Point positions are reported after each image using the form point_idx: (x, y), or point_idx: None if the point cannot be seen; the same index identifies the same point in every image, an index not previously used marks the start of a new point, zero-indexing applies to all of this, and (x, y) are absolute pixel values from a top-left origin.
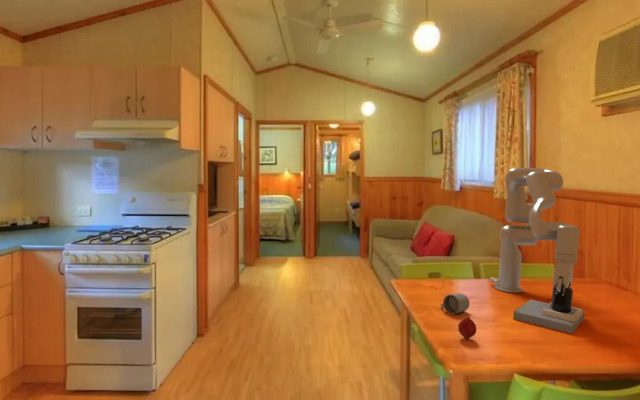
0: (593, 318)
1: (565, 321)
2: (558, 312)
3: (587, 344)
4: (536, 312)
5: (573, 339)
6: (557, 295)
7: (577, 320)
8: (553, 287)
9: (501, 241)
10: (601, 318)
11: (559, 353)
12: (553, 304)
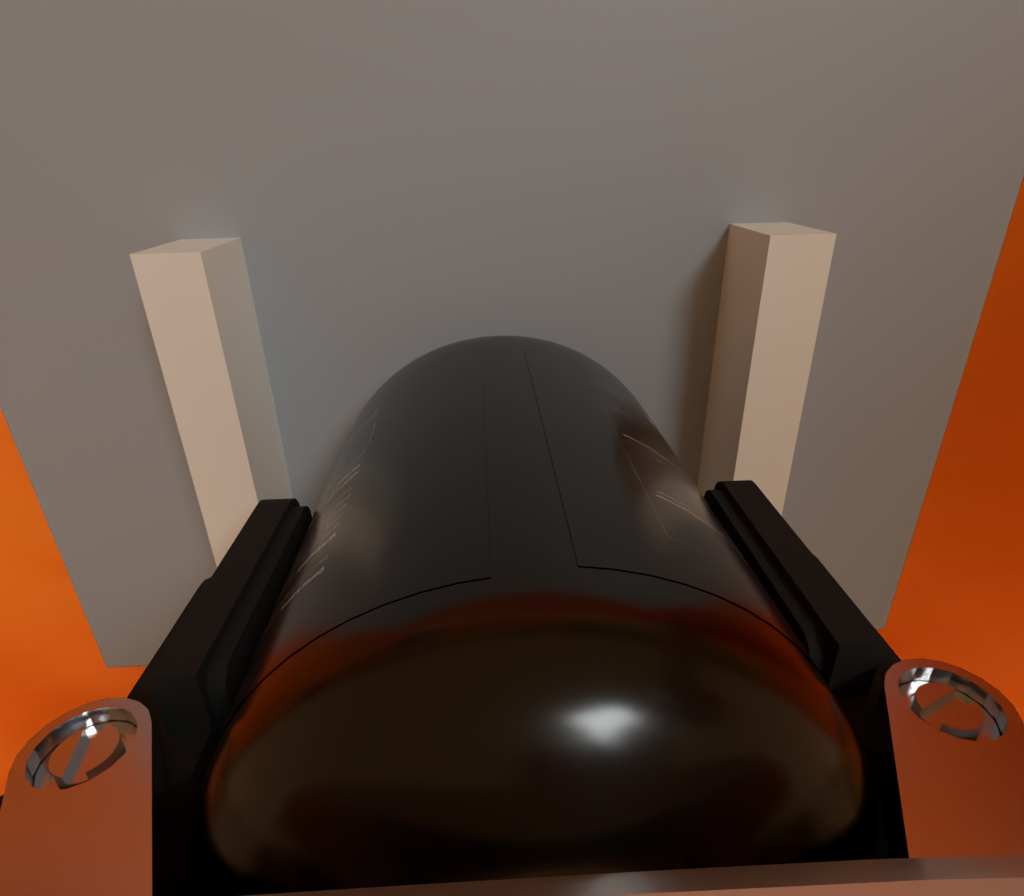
0: (912, 622)
1: (188, 578)
2: (230, 518)
3: (13, 733)
4: (188, 120)
5: (4, 638)
6: (114, 721)
7: None
8: (391, 682)
9: None
10: (963, 667)
11: None
12: (351, 438)
